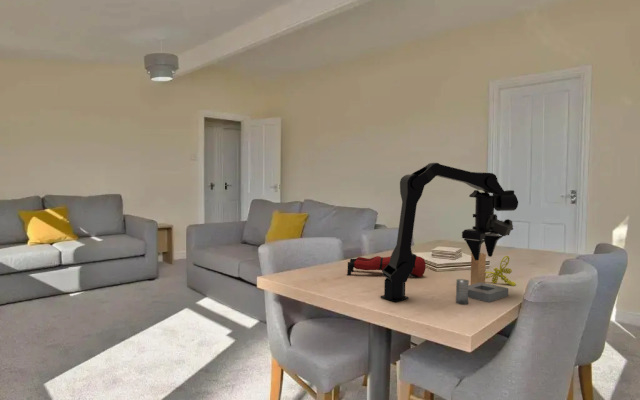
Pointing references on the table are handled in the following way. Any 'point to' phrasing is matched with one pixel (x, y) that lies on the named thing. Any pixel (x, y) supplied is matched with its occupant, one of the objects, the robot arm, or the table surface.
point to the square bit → (478, 269)
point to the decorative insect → (501, 273)
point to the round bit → (462, 291)
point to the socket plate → (486, 292)
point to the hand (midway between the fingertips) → (483, 258)
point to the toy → (383, 265)
